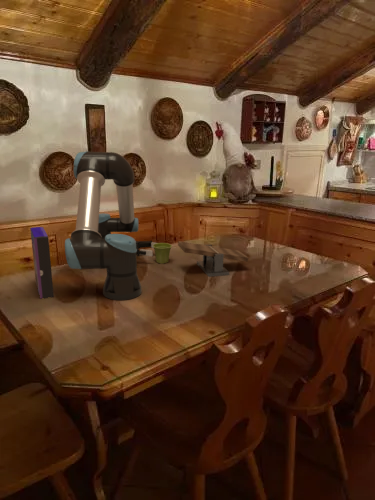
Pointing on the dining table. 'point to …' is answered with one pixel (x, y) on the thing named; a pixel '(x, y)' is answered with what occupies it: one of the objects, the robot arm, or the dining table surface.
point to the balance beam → (211, 251)
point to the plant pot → (162, 252)
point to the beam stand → (213, 265)
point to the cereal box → (42, 262)
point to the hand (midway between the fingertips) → (158, 249)
